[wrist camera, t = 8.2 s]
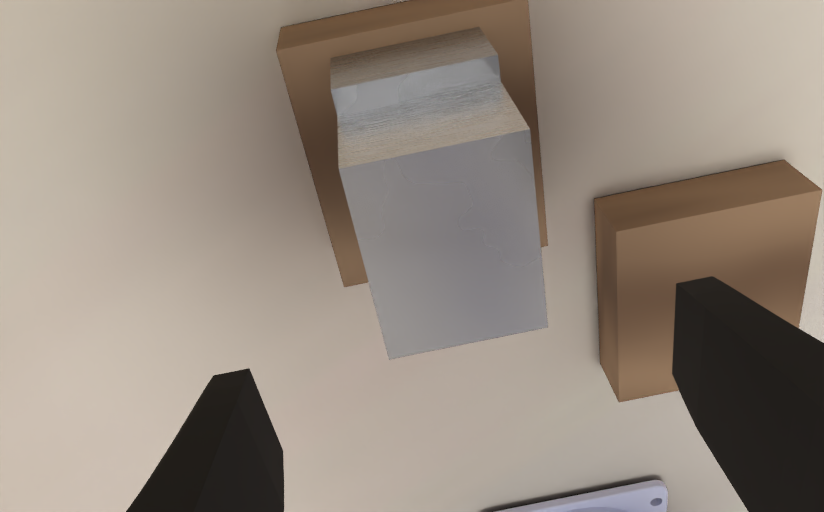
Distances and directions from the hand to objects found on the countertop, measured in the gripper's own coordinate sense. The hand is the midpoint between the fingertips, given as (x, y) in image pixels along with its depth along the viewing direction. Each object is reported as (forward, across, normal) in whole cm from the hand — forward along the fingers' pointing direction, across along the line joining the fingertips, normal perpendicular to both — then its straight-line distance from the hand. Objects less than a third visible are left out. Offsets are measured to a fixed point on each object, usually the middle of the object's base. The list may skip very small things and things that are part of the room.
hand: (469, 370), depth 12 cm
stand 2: (+10, -8, +7) cm, 14 cm away
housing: (+8, 0, 0) cm, 8 cm away
